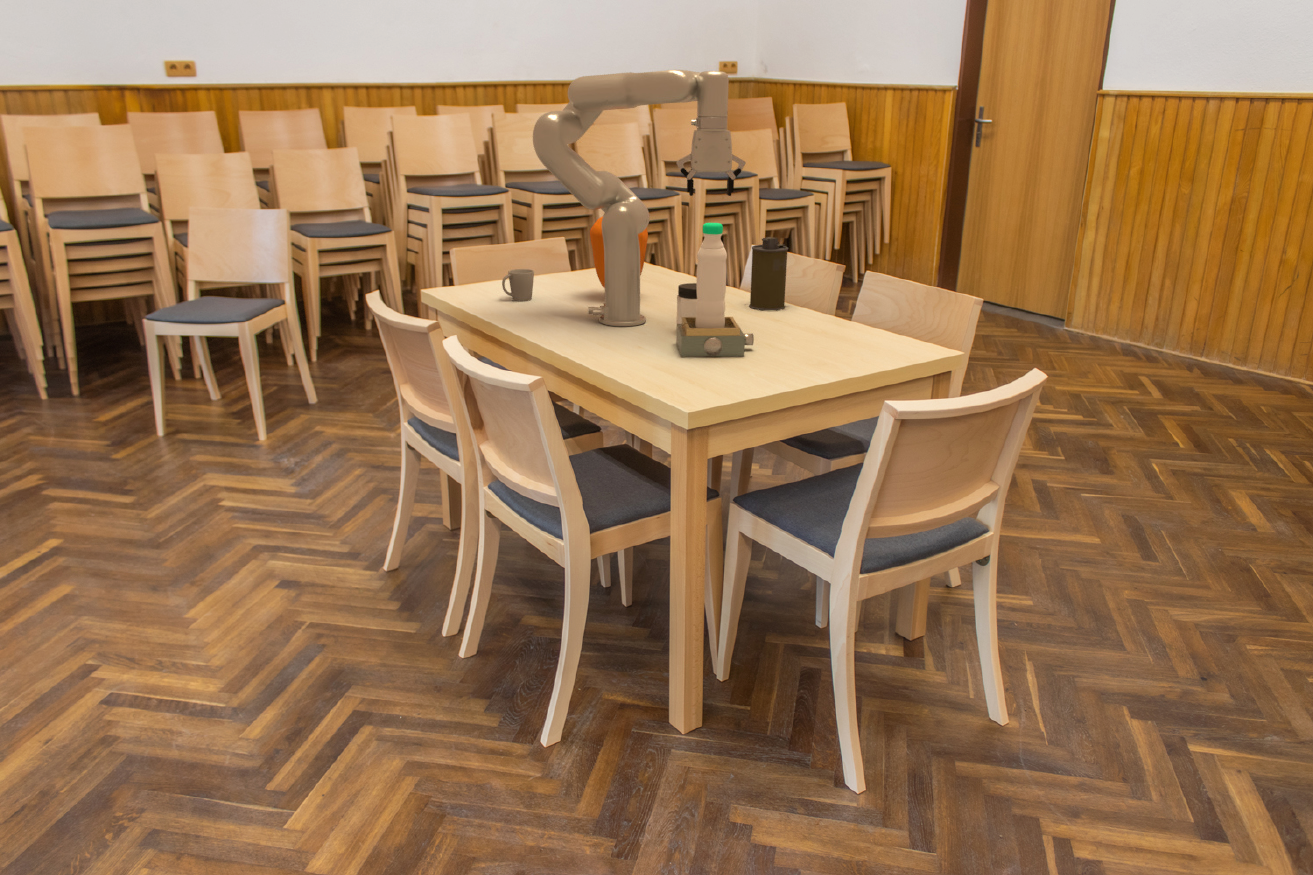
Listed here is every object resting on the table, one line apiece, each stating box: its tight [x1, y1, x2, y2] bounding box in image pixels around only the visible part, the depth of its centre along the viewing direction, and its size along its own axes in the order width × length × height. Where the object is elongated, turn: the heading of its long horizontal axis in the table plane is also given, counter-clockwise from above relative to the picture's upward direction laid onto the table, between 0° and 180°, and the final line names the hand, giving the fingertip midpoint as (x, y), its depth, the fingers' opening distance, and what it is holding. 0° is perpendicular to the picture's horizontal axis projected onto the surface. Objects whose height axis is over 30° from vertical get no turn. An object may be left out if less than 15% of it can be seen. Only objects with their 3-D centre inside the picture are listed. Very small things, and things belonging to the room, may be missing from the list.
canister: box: [749, 236, 789, 311], centre depth 280 cm, size 11×10×20 cm
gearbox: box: [675, 316, 755, 358], centre depth 234 cm, size 18×14×7 cm
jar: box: [676, 282, 697, 325], centre depth 251 cm, size 9×8×12 cm
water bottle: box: [695, 222, 728, 328], centre depth 230 cm, size 7×7×25 cm
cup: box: [501, 268, 535, 302], centre depth 288 cm, size 8×10×8 cm
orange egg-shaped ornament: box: [589, 215, 649, 289], centre depth 288 cm, size 17×17×25 cm
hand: (710, 195), depth 246 cm, fingers open, 9 cm apart
